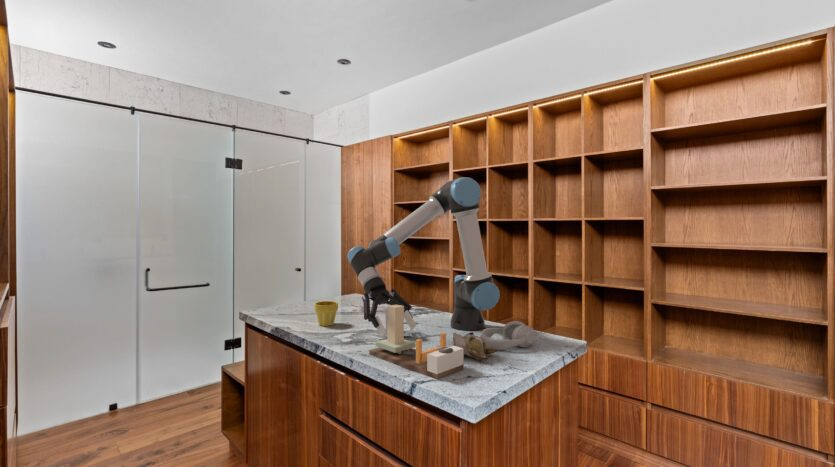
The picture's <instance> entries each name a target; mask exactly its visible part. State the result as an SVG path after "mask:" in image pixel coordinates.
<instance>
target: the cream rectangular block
mask: <svg viewBox="0 0 835 467" xmlns="http://www.w3.org/2000/svg"><path fill="white" fill-rule="evenodd" d="M461 365H463V366H464V354H463V348H460V347H457V346H454V345H451V346H448V347H447V346H446V347H442V348H439V350H438V351H435V352H432V353H429V354H427V371H429V372H432V373H435V374H439V373H442V372H444V371H447V370H450V369H453V368H455V367H458V366H461Z"/></svg>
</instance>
